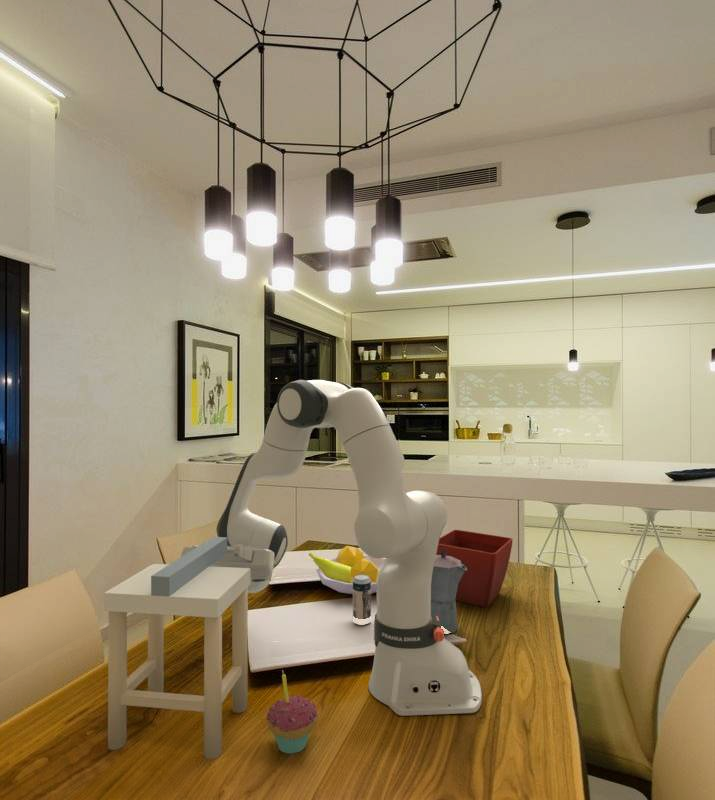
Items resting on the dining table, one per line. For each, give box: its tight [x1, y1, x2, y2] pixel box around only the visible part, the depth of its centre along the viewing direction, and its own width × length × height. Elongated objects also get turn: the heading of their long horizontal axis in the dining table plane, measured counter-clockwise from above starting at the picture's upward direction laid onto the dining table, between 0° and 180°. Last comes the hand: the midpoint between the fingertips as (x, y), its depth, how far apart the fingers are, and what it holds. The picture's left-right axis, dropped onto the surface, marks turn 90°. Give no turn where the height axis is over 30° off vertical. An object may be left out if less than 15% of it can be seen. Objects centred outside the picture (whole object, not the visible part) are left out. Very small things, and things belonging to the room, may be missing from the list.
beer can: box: [352, 574, 372, 619], centre depth 128 cm, size 5×5×12 cm
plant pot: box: [436, 529, 514, 608], centre depth 146 cm, size 19×19×17 cm
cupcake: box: [266, 669, 319, 754], centre depth 83 cm, size 9×8×12 cm
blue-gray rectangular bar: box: [151, 536, 228, 596], centre depth 92 cm, size 3×24×3 cm, turn 172°
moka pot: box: [431, 550, 467, 634], centre depth 126 cm, size 10×15×20 cm, turn 58°
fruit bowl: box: [308, 545, 386, 595], centre depth 154 cm, size 28×27×11 cm
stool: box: [103, 563, 250, 761], centre depth 87 cm, size 20×15×26 cm
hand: (215, 550), depth 101 cm, fingers open, 8 cm apart
